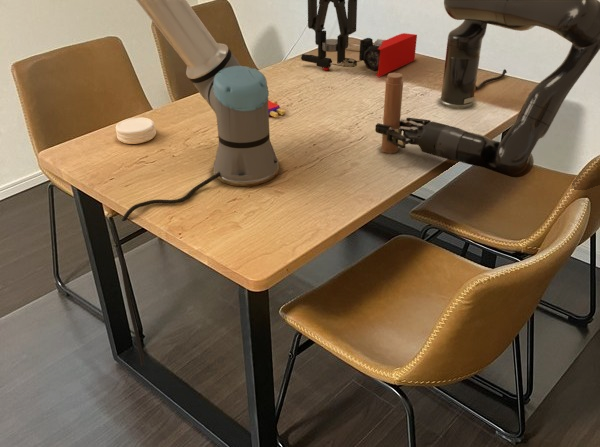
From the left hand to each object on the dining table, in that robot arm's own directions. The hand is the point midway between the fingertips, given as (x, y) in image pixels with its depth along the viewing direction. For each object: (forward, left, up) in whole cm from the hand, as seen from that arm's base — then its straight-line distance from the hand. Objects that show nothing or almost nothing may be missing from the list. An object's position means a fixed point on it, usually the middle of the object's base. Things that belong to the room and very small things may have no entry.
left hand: (331, 59), depth 154 cm
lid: (0, 0, +4) cm, 4 cm away
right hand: (+3, -16, -13) cm, 21 cm away
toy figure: (-4, +22, -19) cm, 30 cm away
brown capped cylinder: (+3, -18, -19) cm, 27 cm away
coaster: (-40, +31, -19) cm, 55 cm away
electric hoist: (+46, +35, -19) cm, 61 cm away
